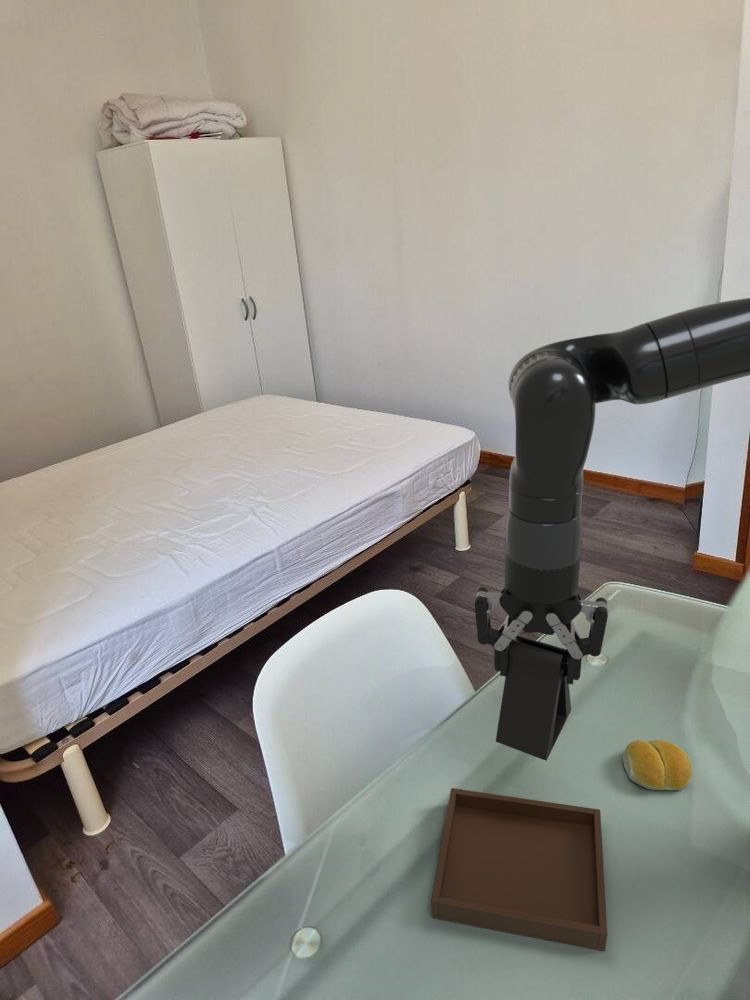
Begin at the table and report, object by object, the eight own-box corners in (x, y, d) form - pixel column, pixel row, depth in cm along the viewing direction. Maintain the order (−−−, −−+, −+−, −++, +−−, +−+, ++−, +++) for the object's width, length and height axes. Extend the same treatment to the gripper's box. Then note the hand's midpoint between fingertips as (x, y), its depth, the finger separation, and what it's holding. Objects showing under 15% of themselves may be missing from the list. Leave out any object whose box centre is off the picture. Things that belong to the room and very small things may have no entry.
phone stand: (545, 762, 76) (550, 677, 71) (495, 743, 79) (496, 659, 74) (571, 711, 83) (577, 630, 78) (524, 695, 86) (526, 615, 81)
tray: (598, 825, 91) (600, 809, 90) (605, 951, 77) (607, 934, 75) (451, 803, 96) (451, 787, 95) (432, 918, 82) (431, 901, 80)
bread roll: (699, 793, 95) (703, 772, 93) (632, 793, 95) (635, 773, 94) (678, 748, 102) (682, 727, 100) (617, 748, 103) (619, 728, 101)
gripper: (467, 561, 69) (468, 690, 76) (618, 572, 65) (604, 706, 72) (476, 526, 75) (476, 648, 83) (614, 534, 72) (602, 661, 79)
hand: (536, 675), depth 77 cm, fingers closed on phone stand, 6 cm apart
